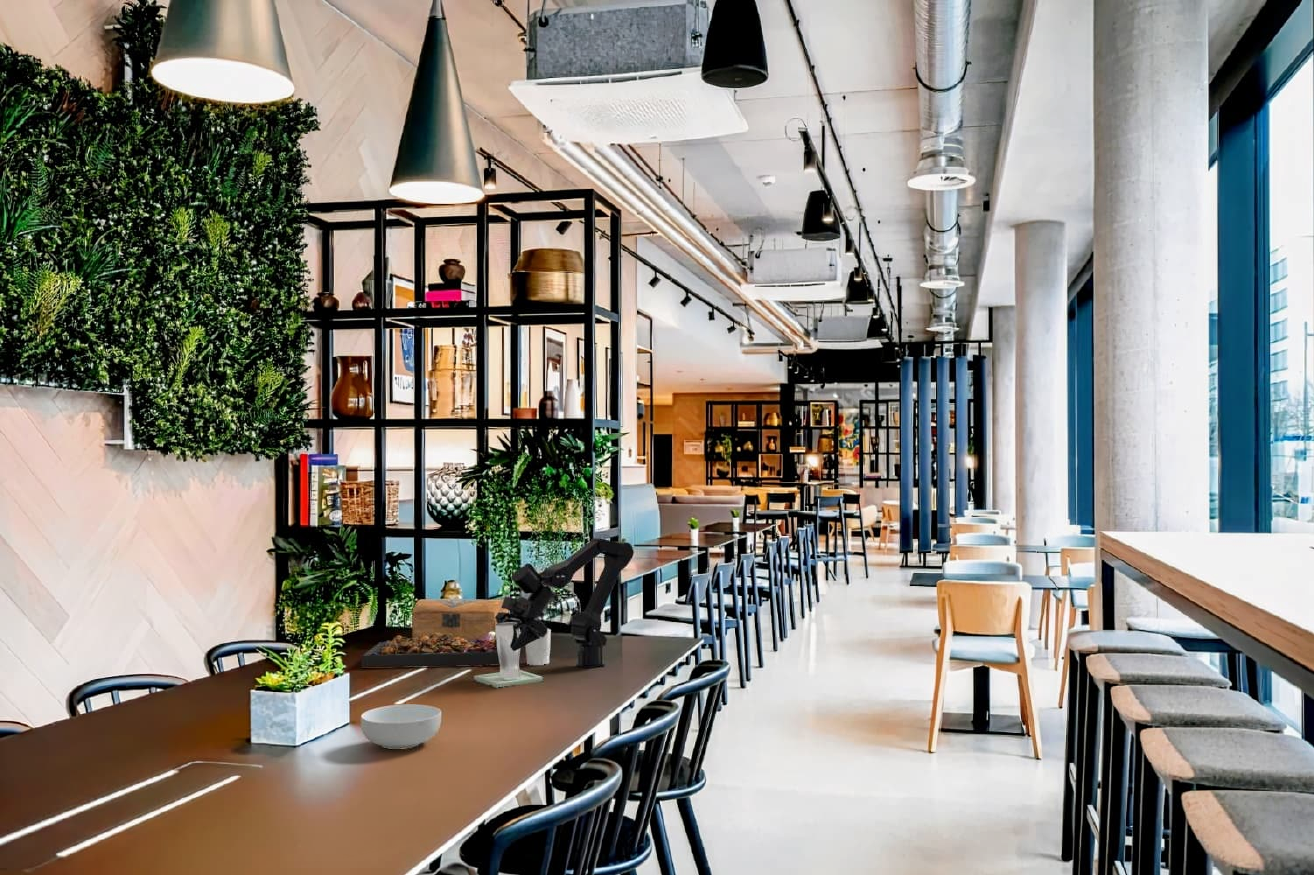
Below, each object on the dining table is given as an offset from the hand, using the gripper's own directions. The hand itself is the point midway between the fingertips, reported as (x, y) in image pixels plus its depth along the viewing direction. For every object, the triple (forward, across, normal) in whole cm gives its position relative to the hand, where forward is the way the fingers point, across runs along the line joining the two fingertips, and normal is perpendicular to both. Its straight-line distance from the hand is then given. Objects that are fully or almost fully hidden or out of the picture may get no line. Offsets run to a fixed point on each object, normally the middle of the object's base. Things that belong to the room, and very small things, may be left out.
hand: (503, 648), depth 297 cm
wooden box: (-14, -72, +28) cm, 78 cm away
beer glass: (+5, 0, +8) cm, 9 cm away
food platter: (+3, -42, +11) cm, 44 cm away
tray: (+6, 0, +8) cm, 9 cm away
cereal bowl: (+44, +40, -31) cm, 67 cm away
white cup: (-9, -15, +22) cm, 28 cm away
